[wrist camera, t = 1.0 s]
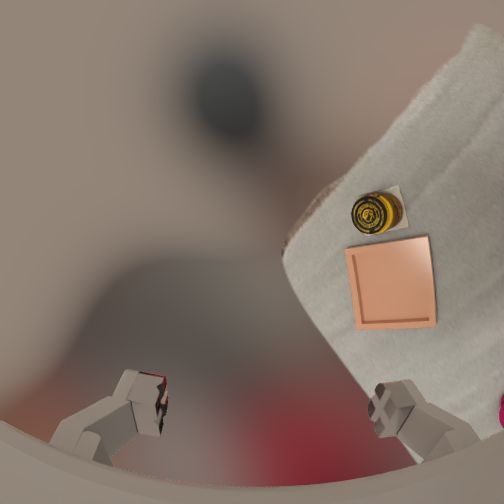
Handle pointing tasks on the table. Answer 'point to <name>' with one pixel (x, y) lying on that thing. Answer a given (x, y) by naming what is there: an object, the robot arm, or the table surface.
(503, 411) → the pepper mill
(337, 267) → the table surface
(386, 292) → the tray
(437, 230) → the table surface
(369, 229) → the condiment
